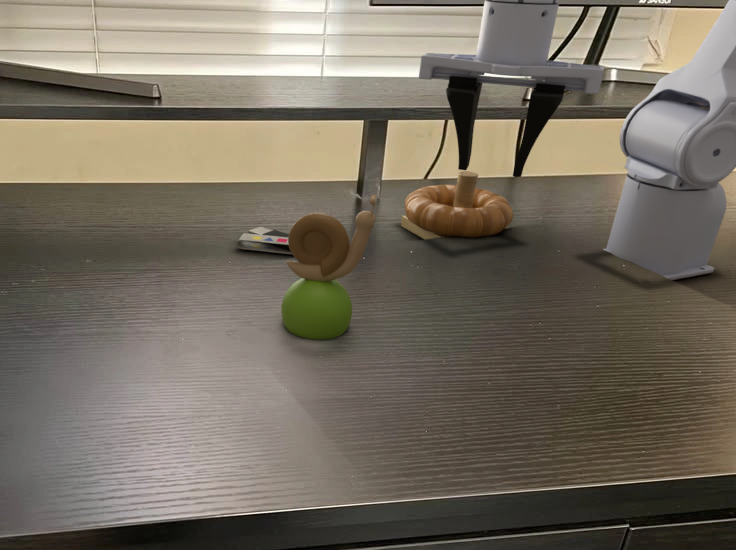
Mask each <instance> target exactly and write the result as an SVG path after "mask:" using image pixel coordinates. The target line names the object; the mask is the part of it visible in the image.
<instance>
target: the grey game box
mask: <svg viewBox="0 0 736 550" xmlns="http://www.w3.org/2000/svg"><path fill="white" fill-rule="evenodd" d="M288 237H289V233H286V232H282V231H280V230H277V229H270V228H267V227H263V226H258V227H255V228H252V229H249V230H248V233H247V232H244V233H242V235H240V238H239V239H238V240H237V242H236V246H237V248H238V249H240V250H247V251H248V250H249V251H256V252H267V253H274V254H275V253H277V254H283V255H284V254H285V255H293V254H292V253H291V251H290V248H289V244H288Z"/></svg>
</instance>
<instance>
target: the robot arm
mask: <svg viewBox="0 0 736 550" xmlns="http://www.w3.org/2000/svg"><path fill="white" fill-rule="evenodd" d="M559 6H560V0H484V3H483V8H482V9H483V10H482V15H481V20H480V21H481V22H480V28H479V35H478V40H477V47H476V52H475V54H460V53H439V52H438V53H436V52H425V53H423V54H421V57H420V64H419V72H418V79H419V80H428V81H429V80H432V79H433V80H444V81H448V84H447V87H446V89H445V93H446V99H447V102H448V105H449V108H450V111H451V115H452V119H453V122H454V127H455V132H456V139H457V140H456V141H457V147H458V149H457V150H458V166H457V167H458V168H457V169H458V170H459V171H468V168H469V166H470V162H471V157H472V150H473V149H472V148H473V140H474V129H475V124H476V117H477V112H478V107H479V103H480V96H481V92H482V87H483V84H488V85H489V84H490V85H501V86H512V87H513V86H514V87H524V88H525V87H526V88H532V91H531V92H530V97H529V102H528V107H527V112H526V117H525V123H524V129H523V133H522V138H521V141H520V142H521V143H520V146H519V149H518V153H517V155H516V159H515V162H514V167H513V171H512V177H517V178H521V177H522V175H523V173H524V172H523V170H524V167H525V165H526V162H527V160H528V157H529V155H530V153H531V151H532V149H533V147H534V145H535V144H536V141H537V140H538V138H539V136H541V135H540V134H541V133H542V132H543V130H544V128H545V127H546V125H547V124H548V122H549V121H550V120H551V118H552V116H553V115H554V113H555V112H556V111H557V109H558V108H559V106H560V105H561V103H562V101H563V99H564V94H565V91H571V92H580V93H581V92H582V93H584V94H589V95H599V93H600V89H601V86H602V81H603V78H604V73H605V66H603V65H595V64H593V65H591V64H583V63H573V62H567V61H566V62H565V61H557V60H550V59H549V58H548V57H549V53H550V49H551V44H552V39H553V35H554V29H555V25H556V19H557V15H558V10H559ZM548 59H549V60H548ZM485 74H489V75H485ZM491 75H495V76H491ZM497 75H498V76H497ZM502 76H503V77H502ZM504 76H508V77H504ZM514 77H515V78H514ZM516 77H527V78H528V77H530V79H527V78H516ZM619 146H620V149H621V152H622V153H623V155H624V156H625V157H626V161H625V164H624V169H625V170H627V173H626V175H625V180H624V183H623V187H622V191H621V194H620V198H619V202H618V204H617V208H616V212H615V215H614V220H613V223H612V226H611V230H610V234H609V237H608V241H607V244H606V248H602V250H603V251H605V252H607V253H610V254H612V255H613V256H614V257H617V258H619V259H621V260H624V261H627V262H630V263H632V264H635V265H636V266H638V267H641V268H643V269H645V270H648V271H650V272H652V273H655V274H657V275H659V276H662V277H664V278H666V279H668V280H670V281H675V280H681V279H684V278H685V279H686V278H691V277H692V278H693V277H696V276H702V275H707V274H712V273H714V271H715V267H714V266H712V265H709V264H708V263H709V260H710V257H711V254H712V251H713V249H714V245H715V242H716V239H717V237H718V234H719V231H720V228H721V225H722V223H723V220H724V217H725V214H726V210H727V203H728V202H727V195H726V192H725V189H724V187H723V186H722V184H721V183H720V182H722V181H723V180H725V178H727V177H728V176H729V175H730V174H732V173H733V172H734V171H735V169H736V0H728V1H727V2H726V4H725V6H724V8H723V9H722V11H721V12H720V14H719V15H718V17H717V19H716V21H715V22H714V24H713V25H712V27H711V28H710V30H709V32H708V33H707V35H706V36H705V38H704V39H703V41H702V43H701V44H700V46H699V47H698V49H697V51H696V52H695V53H694V55H693V57H692V58H691V60H690V61H689V62H687V63H686V64H685V65H682V66H681V67H679V68H676V69H675V70H673V71H671V72H669V73H668V74H666V75H665V76H663V77H661V78H660V79H658V81H657V83H656V84H655V86H654V87H653V89H652V90H651V92H650V93H649V94H648V95H647V96H646V97H645V98H644V99H643V100H641V101H640V102H639V103H638V104H637V105H635V106H634V107H633V108H632V109H631V110H630V112H629V113H628V114H627V116H626V117H625V119H624V121H623V123H622V125H621V129H620V132H619Z"/></svg>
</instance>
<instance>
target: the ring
mask: <svg viewBox="0 0 736 550" xmlns="http://www.w3.org/2000/svg"><path fill="white" fill-rule="evenodd" d="M456 186H457V184H436V185H426V186H422V187H420V188H418V189H416V190H414V191H412V192H410V193H409V194H408V195H407V197H406V198H405V201H404V211H405V215H406V216H407V218H408V219H409V221H410V222H412V223H413V224H415V225H417V226H418V227H420V228H422V229H424V230H426V231H429V232H433V233H437V234H441V235H445V236H447V237H458V238H459V237H462V238H481V237H488V236H489V237H490V236H495V235H498V234H499V233H501V232H502V231H503V230H505V229H507V228H506V227H509V226H510V225H511V223H512V221H513V218H514V211H513V209H512V206H511V205H510V204H509V202H508V200H507V199H506V198H505V197H504V196H501V195H499V194H497V193H495V192H493V191H490V190H487V189H484V188H478V187H476V189H475V195H474V201H473V206H472V208H462V207H453V204H454V198H455V192H456Z"/></svg>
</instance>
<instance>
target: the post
mask: <svg viewBox="0 0 736 550" xmlns="http://www.w3.org/2000/svg"><path fill="white" fill-rule="evenodd" d="M478 177H479V174H478V173H476V172H473V171H469V170H461V171H459V172H458V174H457V180H456V185H457V186H456V192H455V198H454V204H453V207H462V208H472V206H473V201H474V195H475V189H476V188H477V183H478ZM400 227H402V228H404V229H405V230H407V231H409V232H411V233H412V234H414V235H415V236H417V237H419V238H421V239H423V240H431V239H432V240H433V239H437V238H439V239H440V238H446V237H448V236H445V235H441V234H437V233H433V232H429V231H426V230H424V229H422V228H420V227H418V226H417V225H415V224H413V223H412V222H410V221H409V219H408V218H407V216H406V214H404V215H401V220H400ZM505 229H510V227H509V226H507V227H506V228H505Z"/></svg>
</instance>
